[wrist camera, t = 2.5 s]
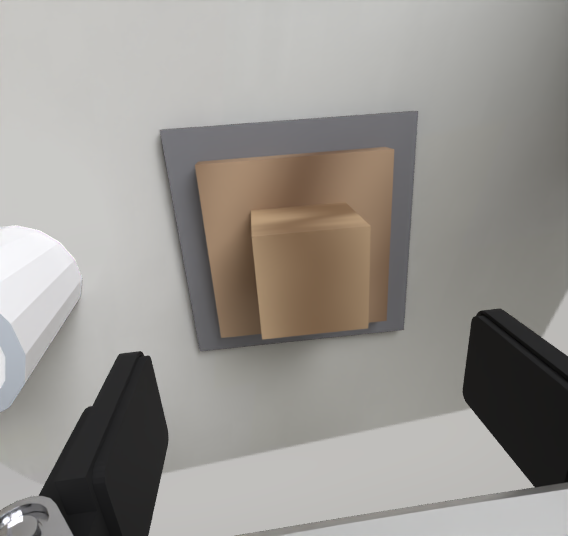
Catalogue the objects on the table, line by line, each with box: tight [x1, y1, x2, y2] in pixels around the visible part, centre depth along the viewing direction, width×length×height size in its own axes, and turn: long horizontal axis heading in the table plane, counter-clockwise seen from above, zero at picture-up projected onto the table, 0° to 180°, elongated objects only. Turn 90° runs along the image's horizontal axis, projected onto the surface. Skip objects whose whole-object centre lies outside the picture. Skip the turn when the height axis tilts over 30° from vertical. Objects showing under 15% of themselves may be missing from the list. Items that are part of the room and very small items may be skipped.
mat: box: [160, 111, 418, 351], centre depth 20 cm, size 12×12×1 cm
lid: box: [195, 147, 394, 339], centre depth 18 cm, size 9×9×5 cm
